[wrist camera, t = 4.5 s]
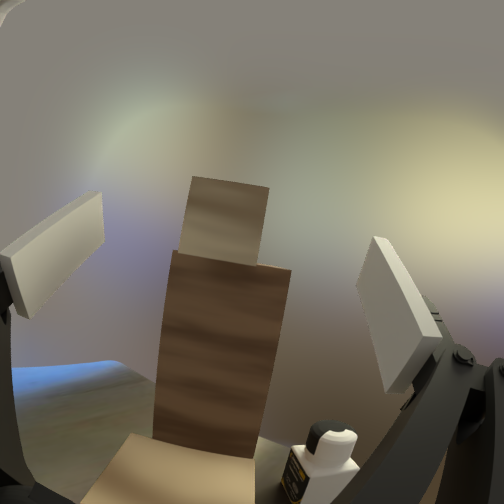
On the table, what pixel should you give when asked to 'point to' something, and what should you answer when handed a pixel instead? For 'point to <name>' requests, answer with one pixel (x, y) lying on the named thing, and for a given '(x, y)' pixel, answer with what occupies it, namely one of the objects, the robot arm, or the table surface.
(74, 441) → the table surface
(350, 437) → the medicine bottle
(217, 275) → the stand
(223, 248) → the wooden block
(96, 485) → the base pedestal
